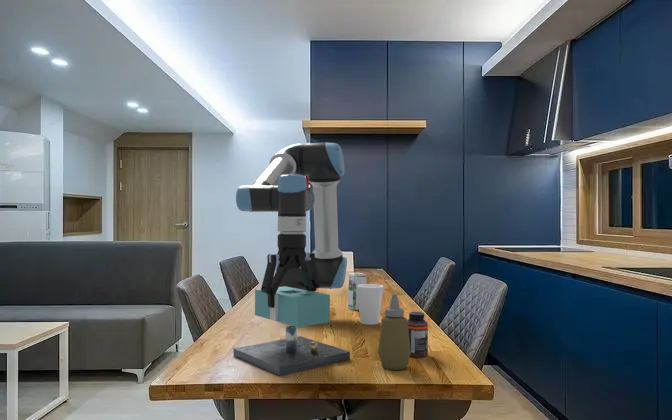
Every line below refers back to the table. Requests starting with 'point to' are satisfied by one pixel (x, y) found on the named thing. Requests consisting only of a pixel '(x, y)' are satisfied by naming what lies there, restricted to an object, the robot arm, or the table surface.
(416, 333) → the supplement bottle
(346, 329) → the table surface
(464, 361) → the table surface
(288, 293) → the teal block with holes
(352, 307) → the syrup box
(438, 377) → the table surface
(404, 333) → the squeeze bottle
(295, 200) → the robot arm
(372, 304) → the foam cup
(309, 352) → the base
